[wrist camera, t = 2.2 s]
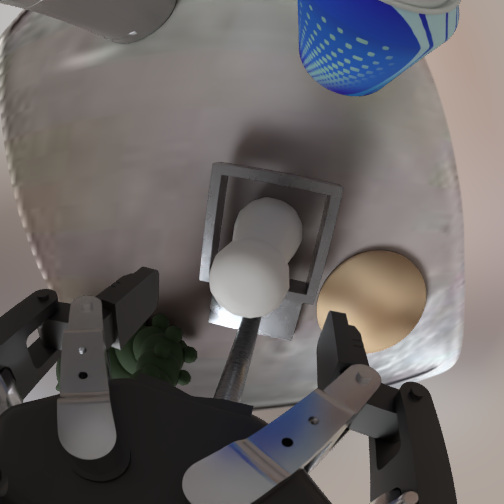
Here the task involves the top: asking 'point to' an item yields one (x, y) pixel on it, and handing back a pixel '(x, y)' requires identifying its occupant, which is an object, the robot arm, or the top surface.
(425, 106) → the top surface
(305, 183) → the ring stand
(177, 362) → the toy figurine
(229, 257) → the salt shaker
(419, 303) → the disc
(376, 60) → the beer can
